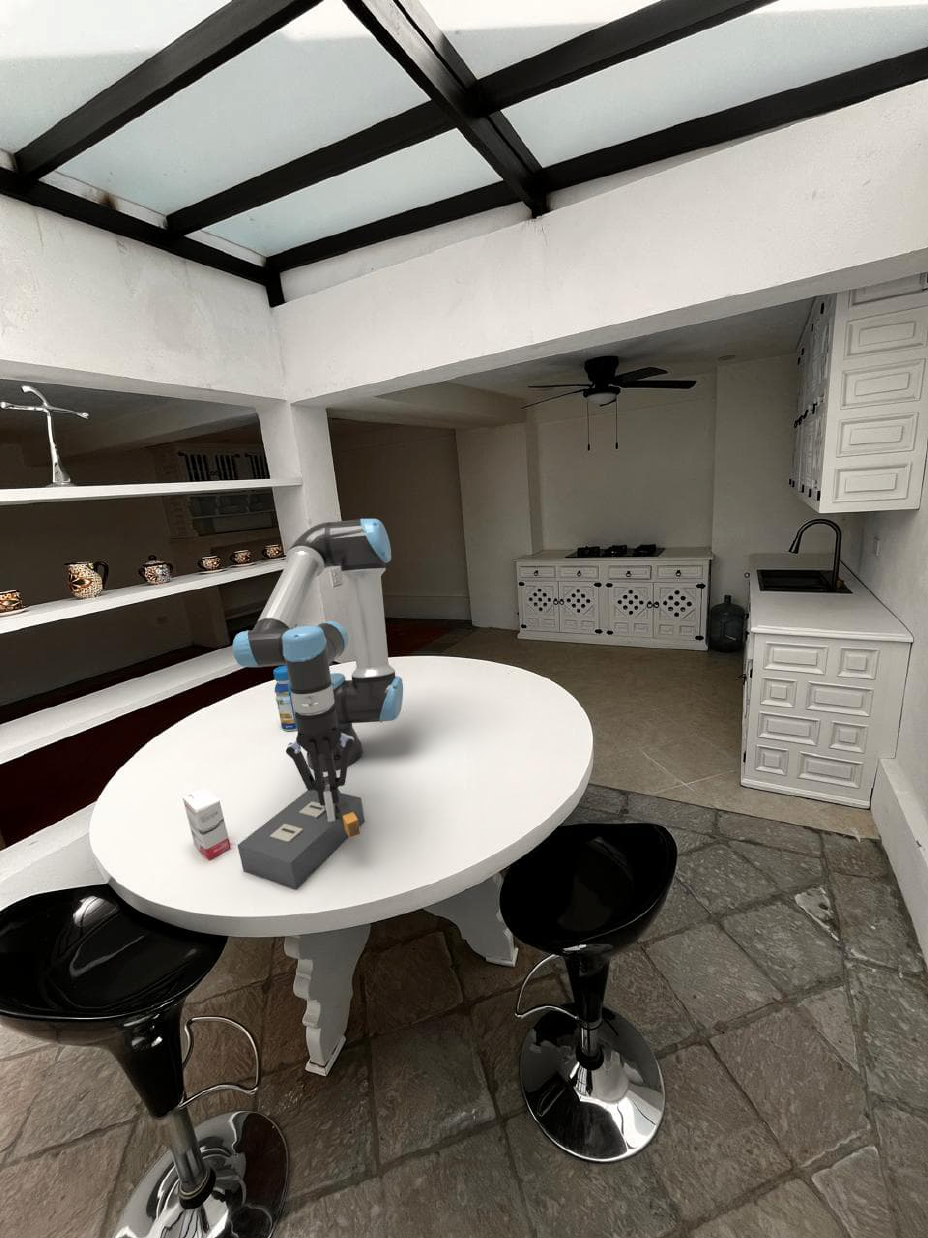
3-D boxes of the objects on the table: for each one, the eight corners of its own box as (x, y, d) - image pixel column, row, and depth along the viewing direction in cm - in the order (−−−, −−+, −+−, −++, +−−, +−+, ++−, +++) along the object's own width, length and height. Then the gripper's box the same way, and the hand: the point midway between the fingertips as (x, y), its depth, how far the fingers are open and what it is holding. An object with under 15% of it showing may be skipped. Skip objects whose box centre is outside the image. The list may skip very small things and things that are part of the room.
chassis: (243, 871, 99) (236, 841, 98) (316, 809, 117) (311, 783, 116) (296, 890, 93) (289, 858, 91) (364, 821, 111) (360, 794, 109)
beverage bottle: (309, 728, 161) (299, 669, 156) (282, 734, 158) (270, 675, 153) (307, 718, 168) (297, 662, 164) (281, 724, 166) (270, 667, 161)
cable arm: (345, 839, 95) (343, 825, 94) (319, 791, 111) (316, 779, 111) (363, 832, 96) (361, 818, 96) (335, 785, 113) (333, 773, 112)
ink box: (232, 848, 107) (220, 799, 104) (208, 861, 103) (195, 811, 100) (216, 832, 112) (205, 785, 109) (193, 844, 109) (180, 796, 106)
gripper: (275, 720, 91) (295, 834, 96) (347, 711, 92) (364, 823, 98) (283, 704, 98) (302, 811, 103) (350, 696, 99) (365, 801, 105)
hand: (332, 817), depth 101 cm, fingers closed
